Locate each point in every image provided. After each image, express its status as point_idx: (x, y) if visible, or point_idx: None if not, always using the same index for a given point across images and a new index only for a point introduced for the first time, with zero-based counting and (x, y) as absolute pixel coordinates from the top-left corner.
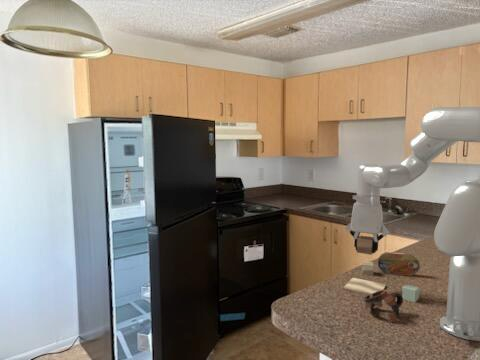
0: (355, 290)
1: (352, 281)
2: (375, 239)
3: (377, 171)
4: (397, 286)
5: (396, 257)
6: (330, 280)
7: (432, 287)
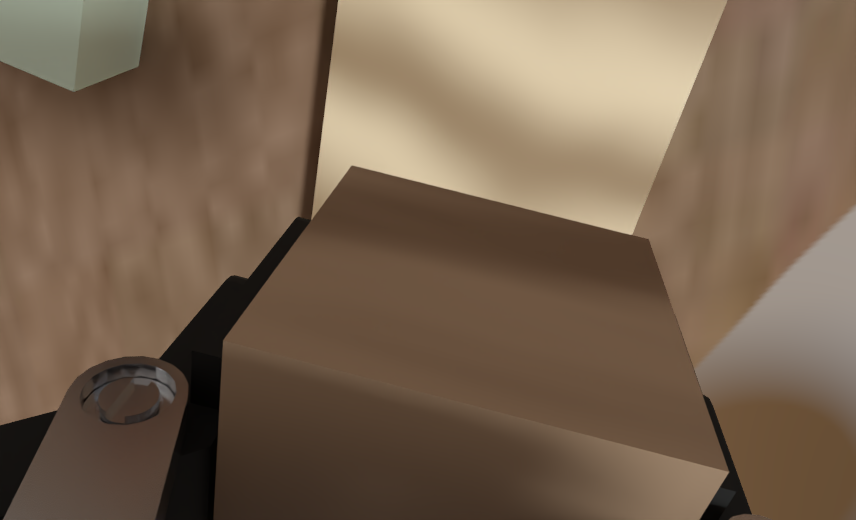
0: None
1: (612, 204)
2: (132, 430)
3: None
4: (230, 241)
5: None
6: (839, 202)
7: (9, 296)
